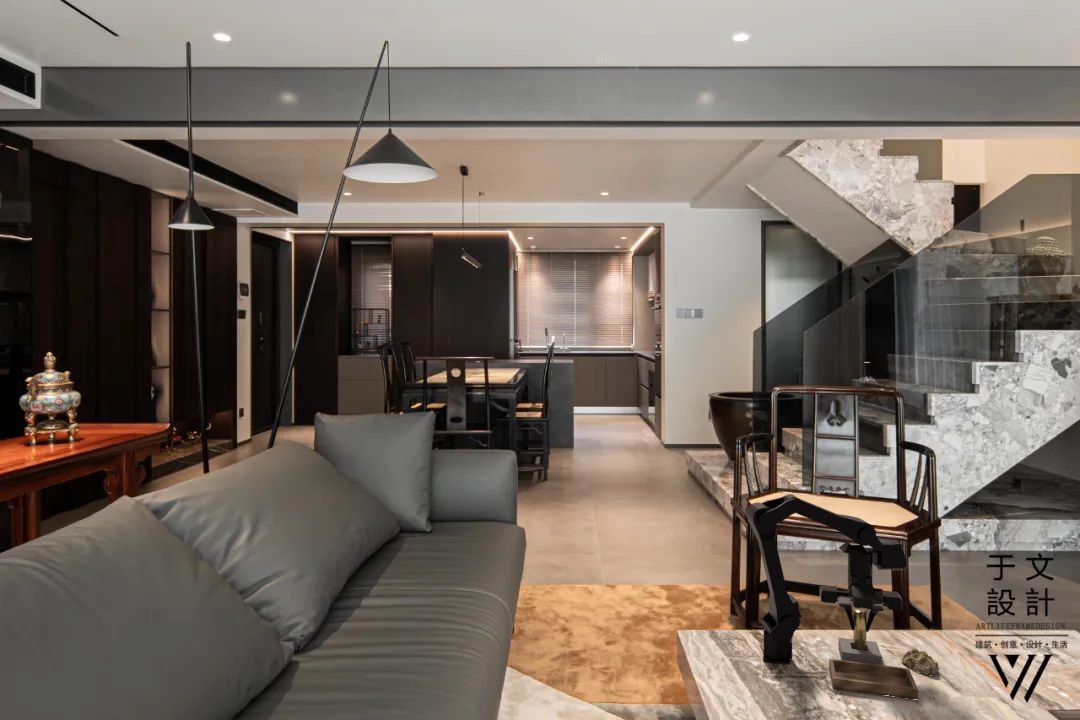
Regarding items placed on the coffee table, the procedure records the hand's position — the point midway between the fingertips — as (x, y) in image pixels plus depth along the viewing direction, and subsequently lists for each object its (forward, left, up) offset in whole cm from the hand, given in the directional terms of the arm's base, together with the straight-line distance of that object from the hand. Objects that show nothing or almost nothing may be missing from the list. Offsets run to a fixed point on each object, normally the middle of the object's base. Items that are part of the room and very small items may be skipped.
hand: (859, 630), depth 175 cm
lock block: (0, 0, -7) cm, 7 cm away
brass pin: (0, 0, -4) cm, 4 cm away
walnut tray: (+1, -13, -7) cm, 15 cm away
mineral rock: (+14, 0, -8) cm, 16 cm away
